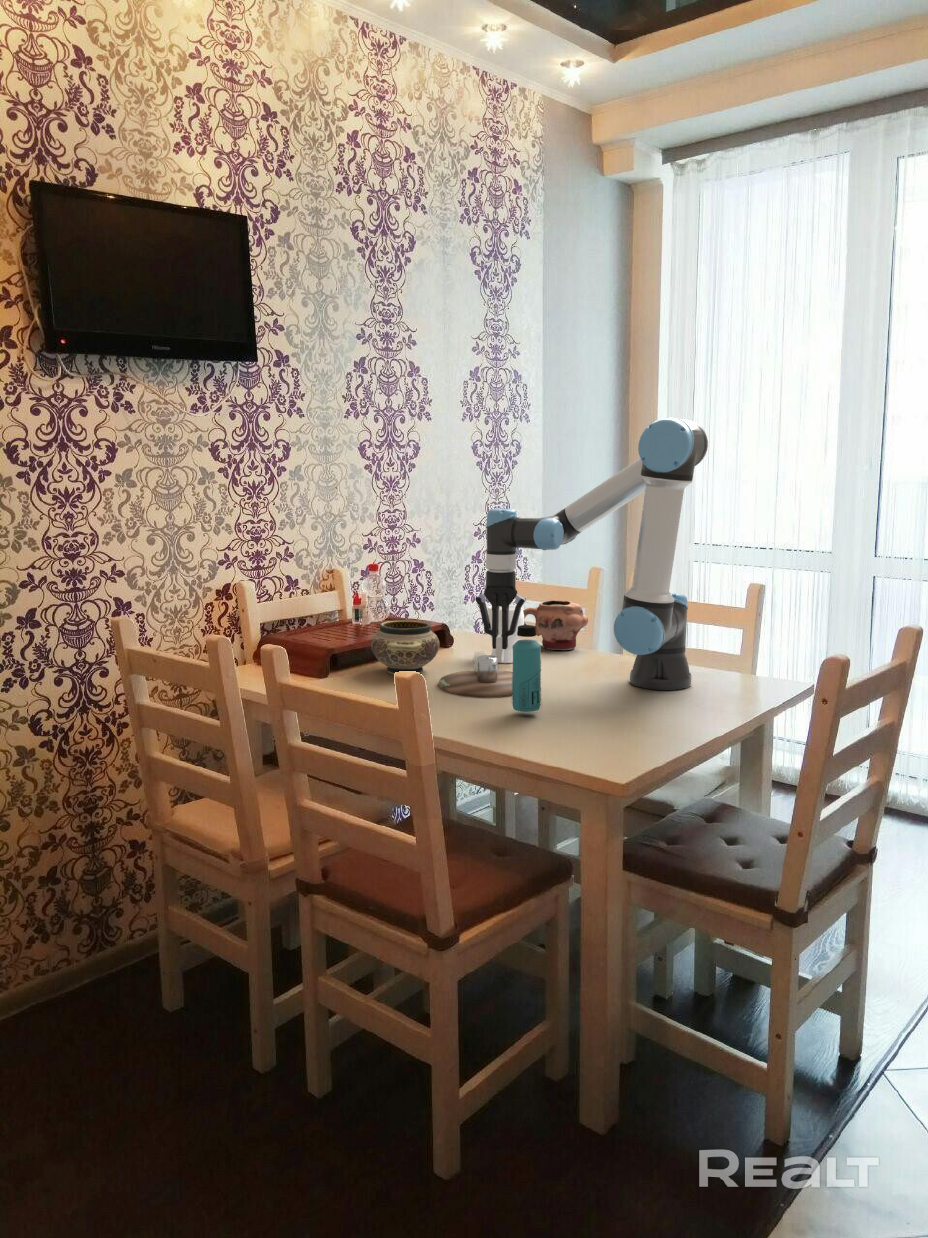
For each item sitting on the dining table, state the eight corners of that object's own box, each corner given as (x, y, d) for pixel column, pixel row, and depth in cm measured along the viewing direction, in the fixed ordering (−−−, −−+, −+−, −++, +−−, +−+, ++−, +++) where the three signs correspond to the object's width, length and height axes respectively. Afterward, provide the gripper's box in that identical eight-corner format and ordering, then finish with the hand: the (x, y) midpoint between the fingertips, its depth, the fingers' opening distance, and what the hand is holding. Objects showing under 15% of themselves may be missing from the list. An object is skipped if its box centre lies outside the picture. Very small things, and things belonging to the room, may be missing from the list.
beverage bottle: (532, 720, 201) (533, 629, 198) (505, 715, 205) (506, 626, 201) (546, 713, 207) (547, 624, 203) (519, 709, 210) (520, 621, 207)
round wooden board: (555, 688, 228) (555, 683, 228) (471, 702, 216) (471, 696, 216) (501, 669, 248) (501, 664, 248) (422, 680, 236) (422, 675, 236)
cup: (530, 659, 261) (531, 606, 259) (511, 666, 252) (512, 611, 250) (497, 654, 267) (498, 602, 264) (478, 661, 258) (478, 608, 255)
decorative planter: (519, 652, 270) (519, 604, 268) (519, 643, 282) (520, 598, 280) (588, 653, 269) (589, 605, 267) (586, 644, 281) (587, 598, 279)
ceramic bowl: (426, 694, 234) (441, 637, 232) (358, 676, 234) (372, 619, 231) (433, 671, 258) (446, 620, 256) (371, 655, 258) (384, 603, 256)
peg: (499, 682, 230) (499, 659, 229) (479, 683, 229) (479, 660, 228) (486, 668, 244) (486, 646, 243) (468, 669, 243) (468, 647, 242)
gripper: (528, 569, 238) (527, 659, 242) (479, 567, 241) (478, 656, 245) (523, 572, 231) (522, 665, 235) (472, 571, 234) (471, 662, 238)
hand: (499, 661), depth 240 cm, fingers closed
